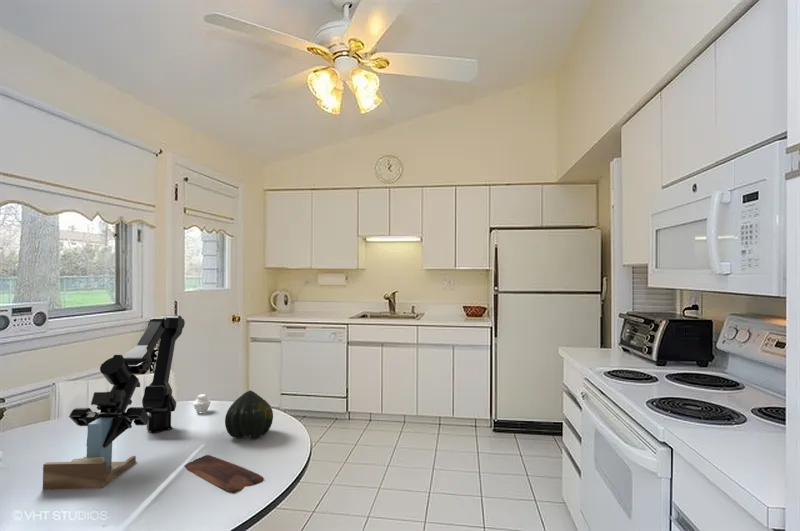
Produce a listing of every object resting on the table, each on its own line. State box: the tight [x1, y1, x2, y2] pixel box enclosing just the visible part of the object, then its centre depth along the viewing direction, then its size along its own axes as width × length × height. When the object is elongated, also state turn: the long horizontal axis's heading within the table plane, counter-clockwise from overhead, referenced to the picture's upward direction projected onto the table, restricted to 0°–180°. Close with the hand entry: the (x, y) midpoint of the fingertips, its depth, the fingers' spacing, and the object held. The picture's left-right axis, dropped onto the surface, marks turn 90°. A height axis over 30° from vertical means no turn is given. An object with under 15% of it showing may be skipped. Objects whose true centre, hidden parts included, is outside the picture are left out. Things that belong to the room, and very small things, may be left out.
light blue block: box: [86, 418, 113, 469], centre depth 114 cm, size 5×4×13 cm
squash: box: [224, 389, 274, 440], centre depth 143 cm, size 14×15×15 cm
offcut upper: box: [70, 457, 104, 462], centre depth 108 cm, size 4×7×2 cm, turn 102°
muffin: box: [192, 393, 211, 413], centre depth 165 cm, size 6×6×7 cm
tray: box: [42, 455, 137, 491], centre depth 112 cm, size 15×14×7 cm
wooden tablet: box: [183, 454, 264, 494], centre depth 116 cm, size 26×2×10 cm
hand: (96, 447), depth 113 cm, fingers closed on light blue block, 4 cm apart
